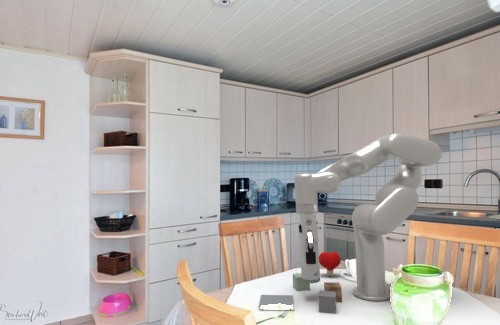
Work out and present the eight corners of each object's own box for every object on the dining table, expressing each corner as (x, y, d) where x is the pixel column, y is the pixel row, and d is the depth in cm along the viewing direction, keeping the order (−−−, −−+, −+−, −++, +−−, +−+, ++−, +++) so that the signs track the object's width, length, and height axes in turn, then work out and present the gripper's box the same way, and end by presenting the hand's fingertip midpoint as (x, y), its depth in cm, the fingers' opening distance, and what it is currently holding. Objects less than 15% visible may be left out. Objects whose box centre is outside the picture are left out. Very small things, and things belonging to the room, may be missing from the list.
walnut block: (339, 297, 111) (338, 282, 111) (341, 302, 106) (341, 287, 106) (324, 297, 111) (324, 282, 111) (326, 302, 106) (326, 287, 106)
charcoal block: (336, 307, 101) (335, 291, 102) (335, 314, 97) (335, 297, 97) (320, 306, 103) (319, 290, 103) (319, 312, 98) (318, 295, 98)
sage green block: (305, 286, 123) (305, 272, 123) (310, 290, 118) (309, 276, 118) (293, 287, 122) (292, 273, 123) (297, 291, 117) (296, 277, 118)
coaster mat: (292, 298, 110) (292, 295, 110) (294, 310, 99) (294, 307, 99) (261, 297, 111) (261, 294, 111) (258, 310, 100) (258, 307, 100)
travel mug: (321, 283, 106) (317, 222, 107) (301, 283, 107) (297, 223, 108) (321, 277, 112) (317, 220, 113) (302, 277, 113) (298, 221, 115)
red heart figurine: (320, 278, 132) (319, 254, 132) (317, 274, 138) (316, 250, 139) (343, 278, 131) (342, 253, 132) (339, 273, 138) (338, 250, 139)
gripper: (320, 210, 102) (324, 267, 101) (315, 206, 119) (318, 255, 118) (297, 211, 103) (300, 268, 102) (295, 207, 120) (298, 255, 119)
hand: (310, 260), depth 110 cm, fingers closed on travel mug, 6 cm apart
